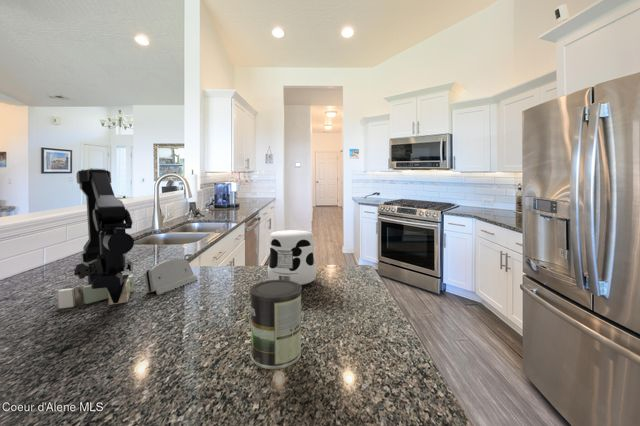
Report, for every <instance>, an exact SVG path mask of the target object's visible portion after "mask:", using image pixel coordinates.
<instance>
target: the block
mask: <svg viewBox="0 0 640 426" xmlns="http://www.w3.org/2000/svg"><path fill="white" fill-rule="evenodd" d="M108 296H109V298H108V305H109V306H110V305H115V304H116V305H117V304H123V303H128V301H129V299H130V296H131V292H130V281H129V279H127V282H126V284H125V287H124V289H123V292H122V294H121V297H120V299H119V302H118V303H113V301H112V299H111V296H110V294H109V292H108Z"/></svg>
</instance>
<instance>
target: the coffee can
mask: <svg viewBox="0 0 640 426" xmlns="http://www.w3.org/2000/svg"><path fill="white" fill-rule="evenodd" d="M302 290H303V286H301V285H300V284H298V283H296V282H293V281H289V280H269V279H268V280H265V281H264V280H263V281H260V282H257V283H256V284H254V285H252V286H251V287H250V288H249V294H250V331H251V332H250V335H251V336H250V338H251V339H250V340H251V341H250V343H251V344H250V345H251V346H250V347H251V353H250V359H251V361H252V362H253V364H255V366H258V367H259V368H263V369H265V370H280V369H284V368H287V367H290V366H293V365H294V364H296V363H297V362H298V361H299V360H300V359H301V356H302Z"/></svg>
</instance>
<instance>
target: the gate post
mask: <svg viewBox="0 0 640 426" xmlns="http://www.w3.org/2000/svg"><path fill="white" fill-rule="evenodd" d="M73 288H74V297H75V306H74V307H82V306H83V305H84V294H83V286H82V285H75V286H74V287H73Z"/></svg>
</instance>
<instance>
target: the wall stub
mask: <svg viewBox="0 0 640 426" xmlns="http://www.w3.org/2000/svg"><path fill="white" fill-rule="evenodd" d="M57 297H58V308H59V310H60V309H66V308H74V307H76V306H75V297H74V287H71V288H62V289H59V290H58V291H57Z"/></svg>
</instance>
